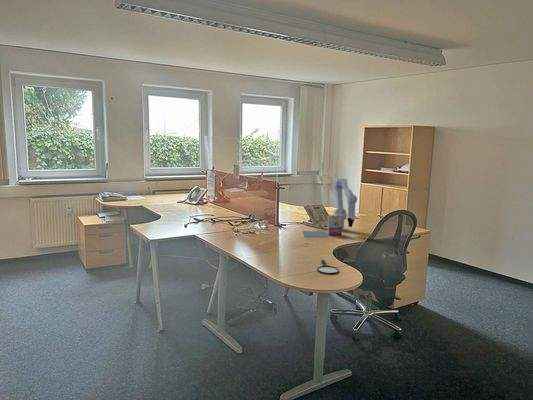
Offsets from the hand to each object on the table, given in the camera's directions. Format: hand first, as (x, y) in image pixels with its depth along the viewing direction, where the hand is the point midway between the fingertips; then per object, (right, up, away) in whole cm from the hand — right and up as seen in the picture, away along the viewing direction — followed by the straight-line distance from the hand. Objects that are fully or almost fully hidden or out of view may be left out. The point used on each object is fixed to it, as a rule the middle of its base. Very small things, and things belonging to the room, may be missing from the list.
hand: (350, 226), depth 333 cm
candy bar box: (-13, -7, +1) cm, 15 cm away
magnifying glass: (-32, -20, -85) cm, 93 cm away
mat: (-29, -7, +1) cm, 29 cm away
